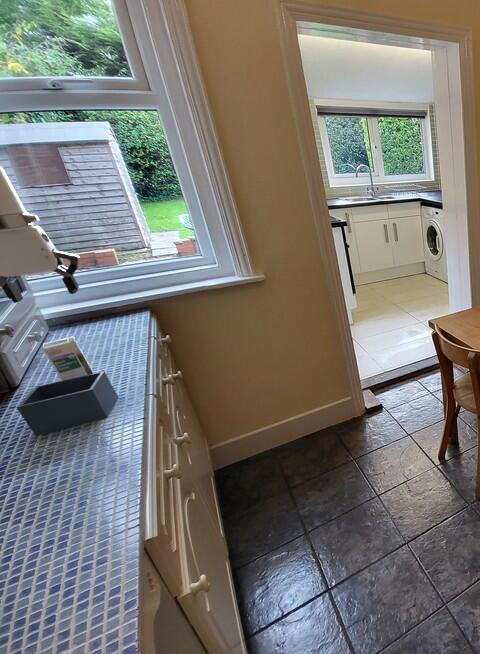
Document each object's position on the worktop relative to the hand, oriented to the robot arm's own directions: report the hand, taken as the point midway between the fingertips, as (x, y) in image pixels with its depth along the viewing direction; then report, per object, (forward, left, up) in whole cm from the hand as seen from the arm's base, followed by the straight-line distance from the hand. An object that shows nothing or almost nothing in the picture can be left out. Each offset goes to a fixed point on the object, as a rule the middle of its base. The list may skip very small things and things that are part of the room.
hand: (47, 296), depth 97 cm
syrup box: (-2, 0, -26) cm, 26 cm away
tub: (0, -14, -26) cm, 29 cm away
